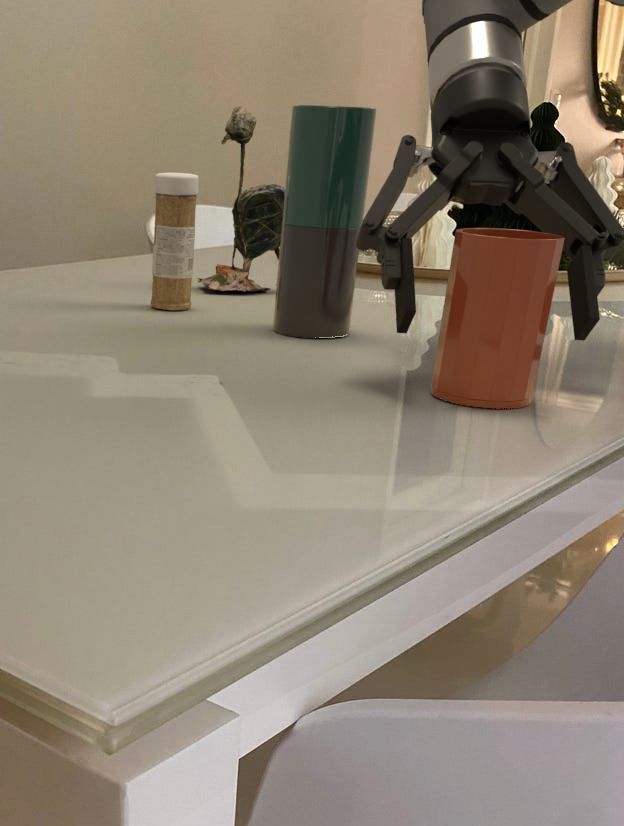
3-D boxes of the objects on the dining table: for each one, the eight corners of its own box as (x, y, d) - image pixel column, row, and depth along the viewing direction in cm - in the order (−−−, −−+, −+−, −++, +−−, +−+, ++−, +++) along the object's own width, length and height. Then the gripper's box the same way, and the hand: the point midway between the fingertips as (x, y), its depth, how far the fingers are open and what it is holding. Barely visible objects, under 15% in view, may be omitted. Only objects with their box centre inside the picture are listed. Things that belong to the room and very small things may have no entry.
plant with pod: (292, 297, 124) (310, 108, 114) (197, 293, 123) (208, 104, 114) (284, 287, 131) (301, 108, 122) (194, 283, 131) (204, 104, 122)
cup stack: (339, 325, 108) (364, 108, 99) (357, 339, 101) (386, 108, 92) (266, 323, 107) (285, 105, 98) (280, 338, 101) (301, 104, 91)
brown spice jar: (162, 302, 117) (168, 171, 111) (199, 307, 115) (206, 174, 109) (142, 308, 113) (147, 172, 107) (179, 313, 111) (186, 175, 105)
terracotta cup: (508, 386, 85) (539, 229, 80) (546, 410, 79) (582, 240, 73) (418, 384, 85) (442, 226, 79) (448, 408, 78) (477, 237, 73)
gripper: (610, 144, 88) (638, 361, 82) (316, 131, 88) (321, 348, 81) (653, 70, 81) (688, 302, 75) (333, 56, 81) (340, 287, 74)
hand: (496, 326), depth 78 cm, fingers open, 13 cm apart
